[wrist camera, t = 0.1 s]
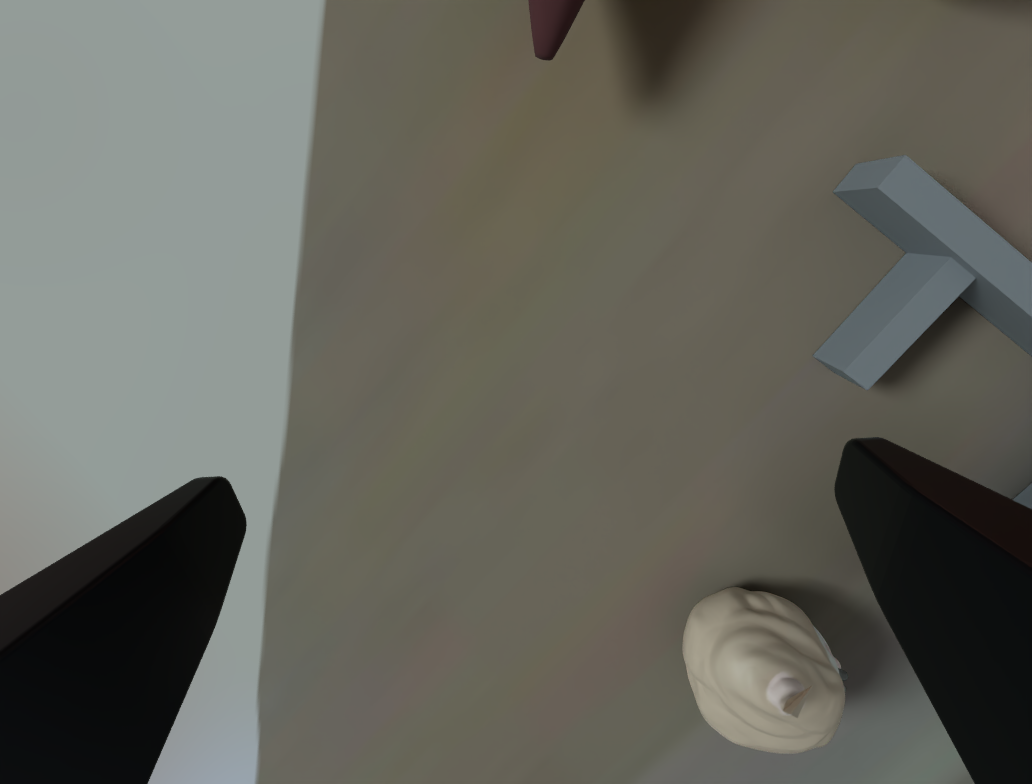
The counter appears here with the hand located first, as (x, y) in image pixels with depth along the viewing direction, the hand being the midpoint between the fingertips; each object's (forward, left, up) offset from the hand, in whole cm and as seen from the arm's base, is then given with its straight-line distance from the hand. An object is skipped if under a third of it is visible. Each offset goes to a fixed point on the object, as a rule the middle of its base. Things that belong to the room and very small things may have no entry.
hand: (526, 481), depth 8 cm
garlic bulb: (-6, -16, -16) cm, 23 cm away
